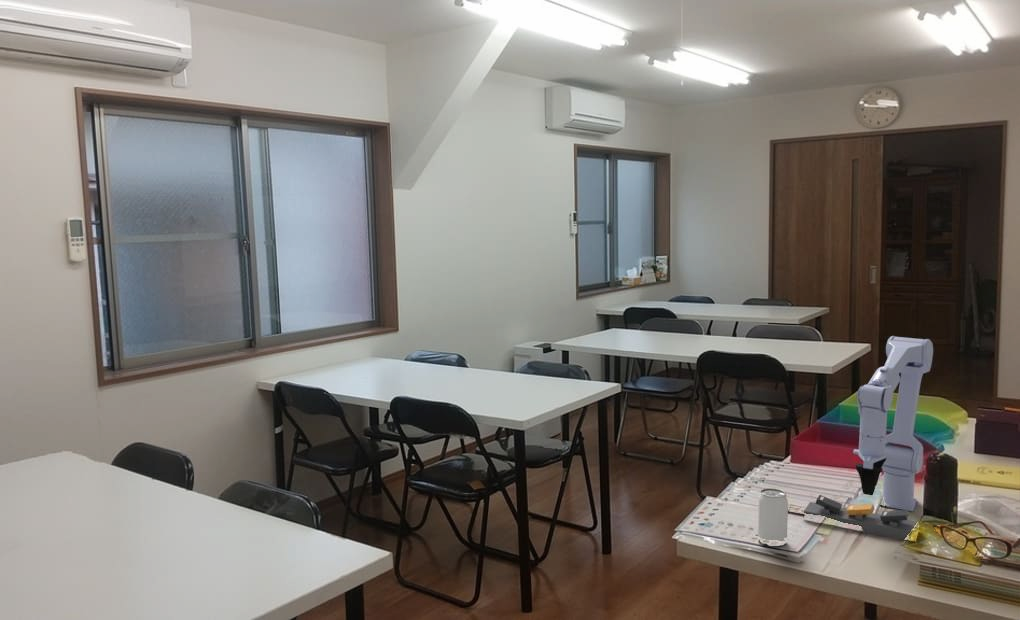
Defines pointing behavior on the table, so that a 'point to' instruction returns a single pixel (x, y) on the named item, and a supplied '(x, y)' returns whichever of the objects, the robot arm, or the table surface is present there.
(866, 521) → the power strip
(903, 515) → the black rocker
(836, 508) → the black rocker
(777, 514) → the can
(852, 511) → the orange rocker
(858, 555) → the table surface
